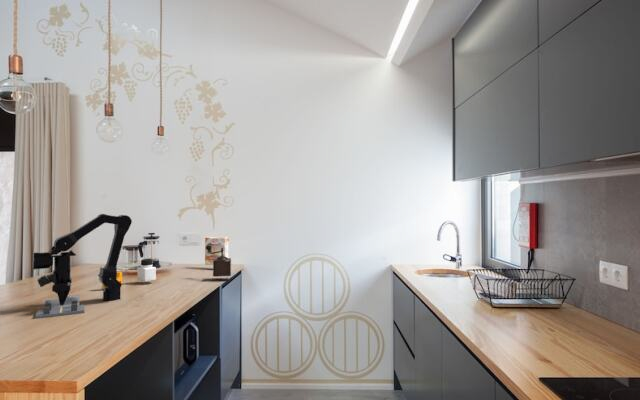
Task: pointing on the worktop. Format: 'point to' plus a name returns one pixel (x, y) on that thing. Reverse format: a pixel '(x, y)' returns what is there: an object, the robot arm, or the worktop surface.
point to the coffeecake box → (216, 248)
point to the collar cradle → (59, 310)
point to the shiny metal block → (56, 303)
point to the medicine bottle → (146, 271)
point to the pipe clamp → (119, 278)
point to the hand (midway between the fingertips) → (62, 304)
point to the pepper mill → (220, 264)
